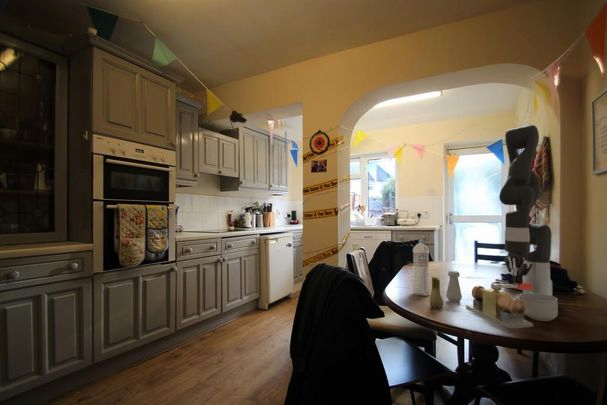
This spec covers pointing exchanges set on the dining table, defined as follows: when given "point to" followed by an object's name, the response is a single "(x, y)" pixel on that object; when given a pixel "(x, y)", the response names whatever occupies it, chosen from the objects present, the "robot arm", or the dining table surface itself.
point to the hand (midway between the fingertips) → (517, 285)
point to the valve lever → (512, 286)
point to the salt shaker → (454, 287)
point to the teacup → (540, 306)
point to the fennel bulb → (436, 294)
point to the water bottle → (421, 269)
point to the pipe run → (499, 307)
